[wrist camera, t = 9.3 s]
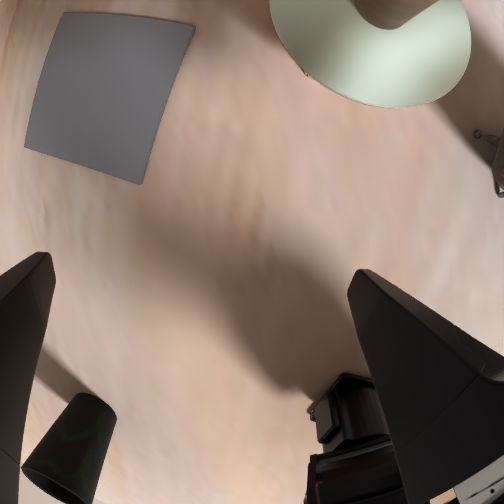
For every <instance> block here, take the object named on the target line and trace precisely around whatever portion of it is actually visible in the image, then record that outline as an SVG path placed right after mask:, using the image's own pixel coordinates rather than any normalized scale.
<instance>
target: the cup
mask: <svg viewBox="0 0 504 504" xmlns="http://www.w3.org/2000/svg"><path fill="white" fill-rule="evenodd" d="M116 421H117V416H116V414H115V412H114V411H113V410H112V408H111V407H110V406H109V405H108V404H106V403H105V402H104V401H102V400H101V399H99V398H97V397H95V396H93V395H90V394H86V393H79V394H77V395H76V396H75V397H74V398H73V399H72V401H71V402H70V403H69V404H68V406H67V407H66V408H65V410H64V411H63V412H62V413H61V415H60V416H59V417H58V419H57V420H56V421H55V423H54V424H53V425H52V426H51V428H50V429H49V430H48V432H47V433H46V434H45V436H44V437H43V438H42V440H41V441H40V442H39V444H38V445H37V446H36V448H35V449H34V450H33V452H32V453H31V454H30V456H29V457H28V459H27V460H26V461H25V463H24V464H23V466H22V467H21V469H22V471H23V473H24V474H25V476H26V477H27V478H28V479H29V480H30V481H31V482H33V483H34V484H35V485H36V486H37V487H39V488H40V489H42V490H43V491H44V492H46V493H47V494H49V495H51V496H52V497H54V498H56V499H57V500H59V501H61V502H63V503H65V504H92V502H93V499H94V495H95V491H96V487H97V484H98V480H99V477H100V473H101V470H102V466H103V463H104V459H105V456H106V453H107V449H108V446H109V443H110V440H111V436H112V433H113V430H114V427H115V424H116Z"/></svg>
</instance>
